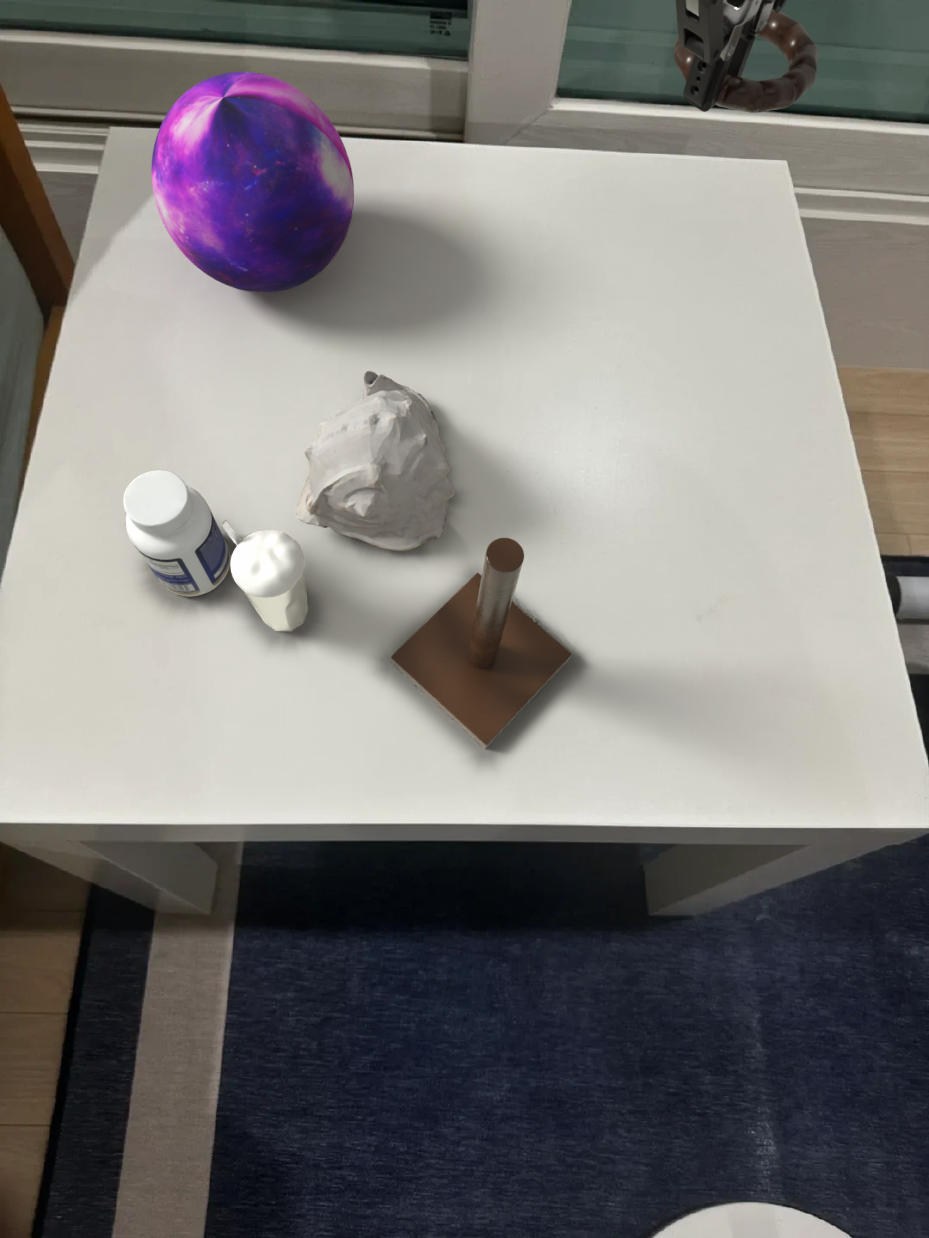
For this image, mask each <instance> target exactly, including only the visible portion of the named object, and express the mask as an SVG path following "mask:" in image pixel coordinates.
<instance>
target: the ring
mask: <svg viewBox="0 0 929 1238" xmlns="http://www.w3.org/2000/svg"><path fill="white" fill-rule="evenodd" d="M727 20H728V19H727V18H726V17H724V16H723V23H725V22H726V21H727ZM754 36H755V38H756V37H757V38H760V39H761V40H763V41H765V42H767V43H768V44H770V45H772V46H773V47H775V48H776V49H778V50H779V51H780V53H782V55H783V57H784V58H785V59H786V62H787V64H788V69H787V71H786V72H785V73H784V74H783V75H781V76H780V77H774V78H769V79H763V80H754V79H750V78H745V77H742V76H741V77H736V76H732V75H730V74H728V73H726V75H725V78H724V81H723V84H722V87H721V90H720V93H719V95H718V98H717V101H716V104H715V105H716V106H718V107H721V108H726V109H730V110H735V111H740V112H745V113H748V114H758V113H763V112H768V111H769V112H770V111H775V110H780V109H787V108H788V107H790V106H791V105H793V104H794V103H795V102H797V100H798V99H800V98H801V97H802V96H803V95H804V94H806V93H807V92H808V91H809V90H810V89H811V88H812V87H813V85H814V84H815V82H816V79H817V78H816V77H817V70H818V69H817V68H818V59H819V50H818V47H817V46H816V44H815V43H814V40H813V39H812V38H811V37H810V35H809V33H808V32H807V31H806V29H805V27H804V26H803V24H802V23H801V22H798V21H797V20H795V19H794V18H792V17H791V16H789V15H788V14H786V13H784V12H782V11H781V10H780V11H779V12H778V13H775V12H774V11H772V10H771V13H770V16H769V19H768V22H767V25H766V27H765V29H764V30H763V31H762V32H761V33H760V34H759V35H758V36H756V35H754ZM674 47H675V48H674V53H673V58H674V59H673V60H674V62H675V65H676V66H677V68H678V70H679V72H680V73H681V75H682V77H683V79H684V81H685V83H686V82H687V78H688V75H689V72H690V68H691V65H692V62H693V59H694V55H695V54H693V53H691V52H690V51H688V50H687V49H685V48H684V47H682V46H681V45H679V39H678V37H677V38H676V42H675V46H674Z"/></svg>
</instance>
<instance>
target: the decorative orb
mask: <svg viewBox="0 0 929 1238" xmlns="http://www.w3.org/2000/svg"><path fill="white" fill-rule="evenodd" d="M151 155H152V156H151V185H152V191H153V196H154V200H155V205H156V208H157V211H158V213H159V216H160V219H161V221H162V223H163V225H164V227H165V229H166V231H167V232H168V235H169V237H170V238H171V239H172V241H173V242H174V244H175V245H176V247H177V248H178V249H179V251H180V252H181V253H182V254H183V256H184V257H185V258H186V259H188V261H190V263H191V264H193V265H194V267H196V268H197V269H199V270H200V271H201V272H203V274H205V275H207V276H208V277H209V278H212V279H213V280H214V281H217V282H219V283H221V284H223V285H225V286H228V287H231V288H233V289H237V290H241V291H245V292H251V293H262V294H263V293H276V292H277V293H278V292H282V291H283V292H284V291H286V290H289V289H290V290H291V289H293V288H296V287H298V286H301V285H302V284H304V283H307V282H308V281H310V280H311V279H313V278H315V277H316V276H317V275H319V274H320V273H321V272H323V270H325V268H326V267H328V265H329V264H330V263H332V261H333V259H334V258H335V257H336V255H338V252H339V251H340V249H341V247H342V246H343V244H344V242H345V240H346V237H347V235H348V233H349V229H350V226H351V222H352V218H353V213H354V205H355V202H354V201H355V184H354V175H353V171H352V170H353V169H352V165H351V161H350V158H349V155H348V151H347V149H346V146H345V144H344V142H343V140H342V138H341V136H340V134H339V132H338V131H337V129H336V126H335V125H334V124H333V122H332V121H331V120H330V119H329V117H328V115H327V114H326V113H325V111H323V110H322V108H320V106H319V105H318V104H317V103H316V102H315V101H313V100H312V98H310V97H309V96H308V95H307V94H305V93H304V92H303V91H301V90H299V88H297V87H295V86H293V85H292V84H290V83H288V82H285V81H284V80H281V79H280V78H276V77H274V76H271V75H267V74H264V73H258V72H251V71H232V72H225V73H221V74H217V75H214V76H210V77H208V78H205V79H203V80H201V81H199V82H198V83H196V84H195V85H193V86H192V87H190V88H189V89H188V90H186V91H185V92H183V94H182V95H181V96H180V97H178V98H177V100H176V101H175V102H174V103H173V104H172V106H170V108H169V110H168V111H167V113H166V115H165V117H164V118H163V120H162V122H161V124H160V126H159V129H158V131H157V133H156V137H155V141H154V144H153V150H152V154H151Z"/></svg>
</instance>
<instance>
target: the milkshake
mask: <svg viewBox="0 0 929 1238" xmlns="http://www.w3.org/2000/svg"><path fill="white" fill-rule="evenodd" d="M220 525H221V527H222V529H223V530H224V531H225V533H226V534H227V535H228V537H229V538H230V539H231V541H232V542H233V544H234V545H235V548H234V550H233V552H232V554H231V556H230V572H231V577H232V579H233V581H234V582H235V584H236V585H237V586H238V587H239V588H240V590H241V591H242V592H243V594H244V595H245V596H246V598H247V600H248V601H249V602H250V603H251V605H252V607H253V608H254V609H255V611H256V612H257V615H259V617H260V618H261V620H262V622H263V623H264V624H266V625H267V626H268V627H270V628H271V629H273V630H274V631H275V632H292V631H294V630H295V629H297V628H298V627H300V626H301V625H303V624H304V622H305V620H306V617H307V615H308V613H309V604H308V596H307V586H306V570H305V569H306V568H305V555H304V551H303V549H302V547H301V545H300V544H299V542H298V541H297V540H295V539H294V537H292V536H290V535H289V534H288V533H285V532H284V531H282V530H275V529H264V530H263V529H262V530H256V531H254V532H252V533H250V534H248V535H247V536H246V537H244V538H243V539H241V538H240V536H239V535H238V533H237V532H236V531H235V529H234V528H233V527H232V526H231V524H230V523H229V522H228V521H227V520H226V519H224V521H223V522H221V524H220Z"/></svg>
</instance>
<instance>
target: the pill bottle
mask: <svg viewBox="0 0 929 1238" xmlns="http://www.w3.org/2000/svg"><path fill="white" fill-rule="evenodd" d="M122 499H123V500H122V502H123V503H122V504H123V508H124V511H125V513H126V518H125V528H126V533H127V535H128V537H129V539H130V541H131V543H132V545H133V546H134V548H135V549H136V550H137V551H138V553H139V554H140V556H141V557H142V558H143V559H144V561H145V563H146V564H147V566H148V567H149V569H150V570H151V571H152V573H153V575H154V576H155V577H156V579H157V581H158V582H159V583H160V584H161V586H163V588H165V589H166V590H168V591H169V592H171V593H173V594H175V595H177V596H182V597H197V596H202V595H204V594H208V593H210V592H212V591H213V590H214V589H216V588H218V586H219V585H220V584H221V583H222V582H223V581H224V579H226V577H227V575H228V573H229V570H230V568H231V566H230V563H231V552H230V550H229V546H228V544H227V542H226V540H225V537H224V536H223V533H222V532H221V529H220V526H219V525H218V523H217V521H216V519H215V516H214V514H213V511H212V510H211V508H210V506H209V504H208V503H207V500H206V499H205V497H203V495H202V494H201V493H200V492H199V491H198V490H196V489H194V488H193V487H191V486H189V485H187V484H186V482H185V481H184V480H183V479H182V478H181V476H179V475H178V474H175V473H174V472H171V471H168V470H160V469H156V470H149V471H146V472H144V473H142V474H140V475H138V476H136V477H135V478H133V480H132V481H130V483H129V484H128V485H127V487H126V489H125V490H124V494H123V498H122Z"/></svg>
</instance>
